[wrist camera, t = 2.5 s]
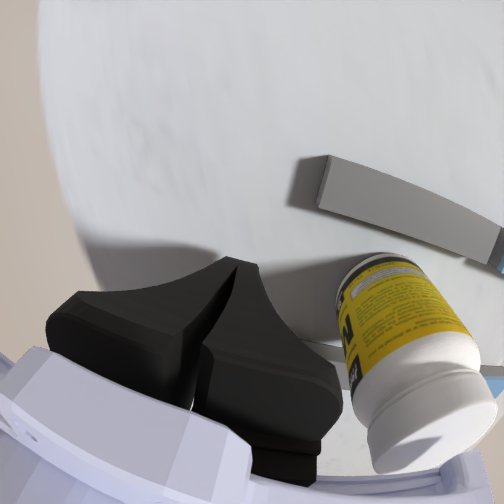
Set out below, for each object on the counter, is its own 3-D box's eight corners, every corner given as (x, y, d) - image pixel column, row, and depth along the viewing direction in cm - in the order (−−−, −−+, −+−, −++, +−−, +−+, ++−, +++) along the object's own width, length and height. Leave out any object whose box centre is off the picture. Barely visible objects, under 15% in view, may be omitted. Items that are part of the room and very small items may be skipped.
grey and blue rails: (489, 384, 14) (496, 397, 13) (264, 359, 15) (261, 380, 13) (559, 264, 10) (572, 274, 8) (328, 154, 10) (334, 156, 9)
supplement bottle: (317, 278, 13) (336, 449, 5) (408, 233, 11) (521, 358, 3) (353, 347, 14) (377, 491, 6) (430, 310, 12) (498, 436, 5)
